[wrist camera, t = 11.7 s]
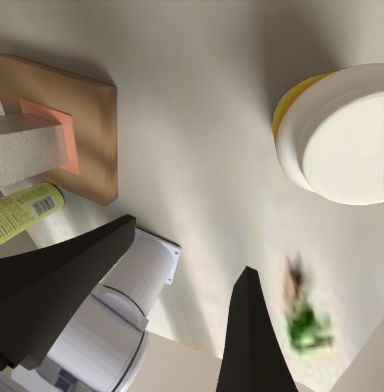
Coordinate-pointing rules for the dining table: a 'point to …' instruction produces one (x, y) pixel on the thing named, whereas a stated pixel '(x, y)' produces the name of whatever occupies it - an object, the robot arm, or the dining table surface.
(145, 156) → the dining table surface
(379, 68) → the supplement bottle
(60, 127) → the steel column
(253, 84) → the dining table surface
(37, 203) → the tube
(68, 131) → the board
